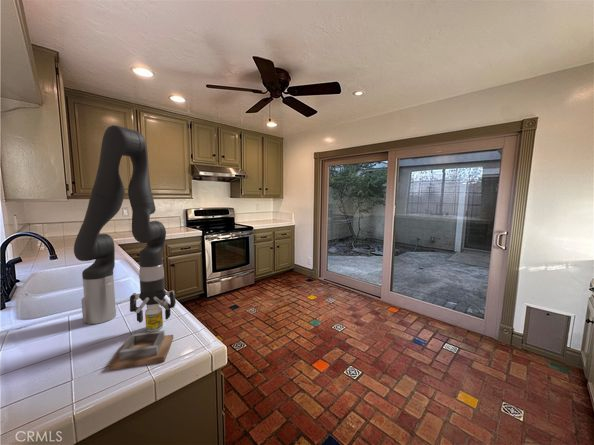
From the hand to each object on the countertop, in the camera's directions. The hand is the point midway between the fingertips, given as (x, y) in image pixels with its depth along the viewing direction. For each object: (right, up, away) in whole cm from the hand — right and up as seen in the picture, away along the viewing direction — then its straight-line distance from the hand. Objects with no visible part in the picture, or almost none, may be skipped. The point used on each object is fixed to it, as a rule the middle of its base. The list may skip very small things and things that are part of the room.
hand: (154, 320), depth 89 cm
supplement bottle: (0, -3, 0) cm, 3 cm away
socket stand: (+5, -5, -14) cm, 15 cm away
